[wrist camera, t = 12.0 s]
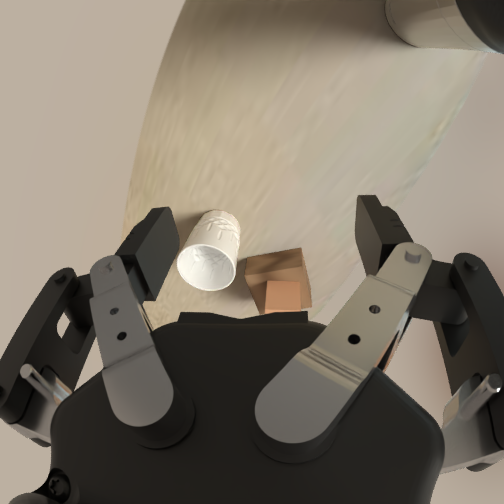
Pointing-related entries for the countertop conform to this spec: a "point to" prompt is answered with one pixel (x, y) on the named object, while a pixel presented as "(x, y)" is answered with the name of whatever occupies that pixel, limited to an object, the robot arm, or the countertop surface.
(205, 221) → the white cup
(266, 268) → the walnut block
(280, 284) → the terracotta block
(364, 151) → the countertop surface
